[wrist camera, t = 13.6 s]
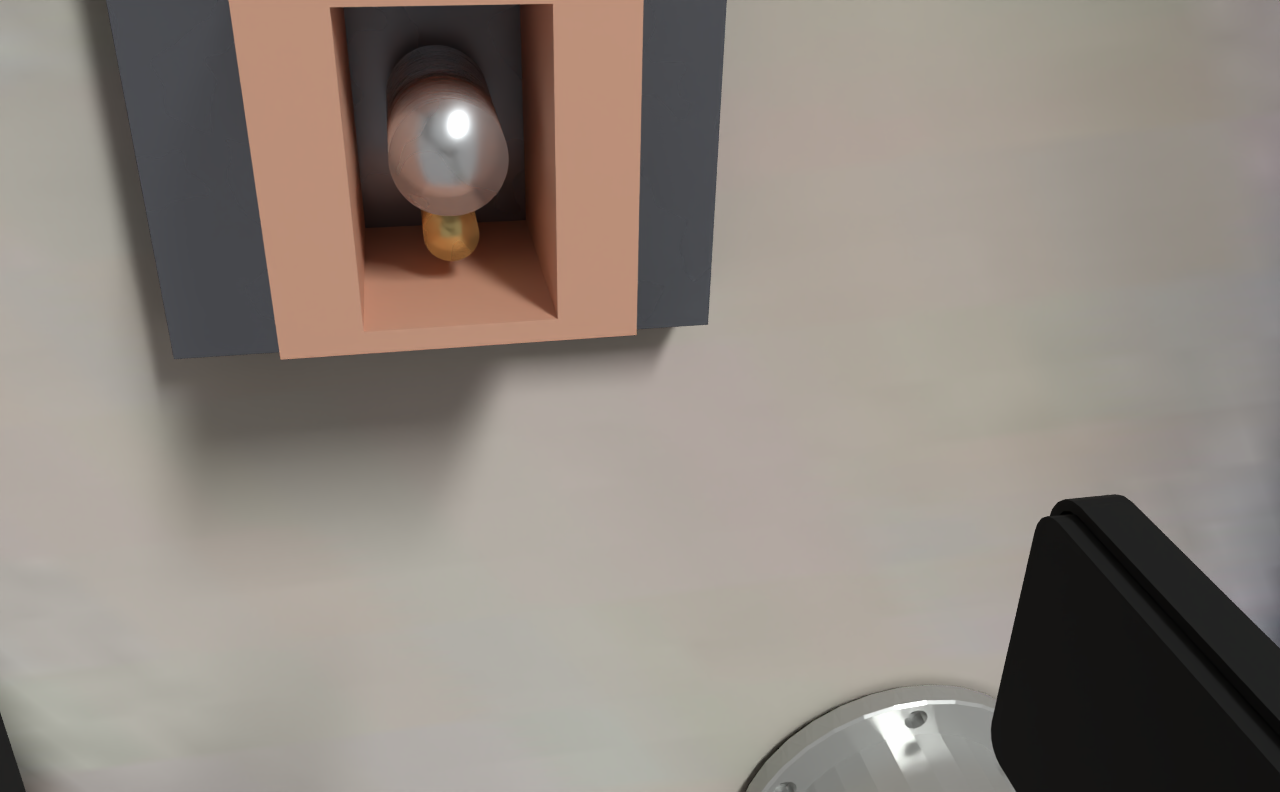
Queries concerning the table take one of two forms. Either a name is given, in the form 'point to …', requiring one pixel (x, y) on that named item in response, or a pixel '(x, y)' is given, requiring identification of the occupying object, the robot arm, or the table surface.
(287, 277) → the pink storage bin
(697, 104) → the base plate
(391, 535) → the table surface
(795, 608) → the table surface
